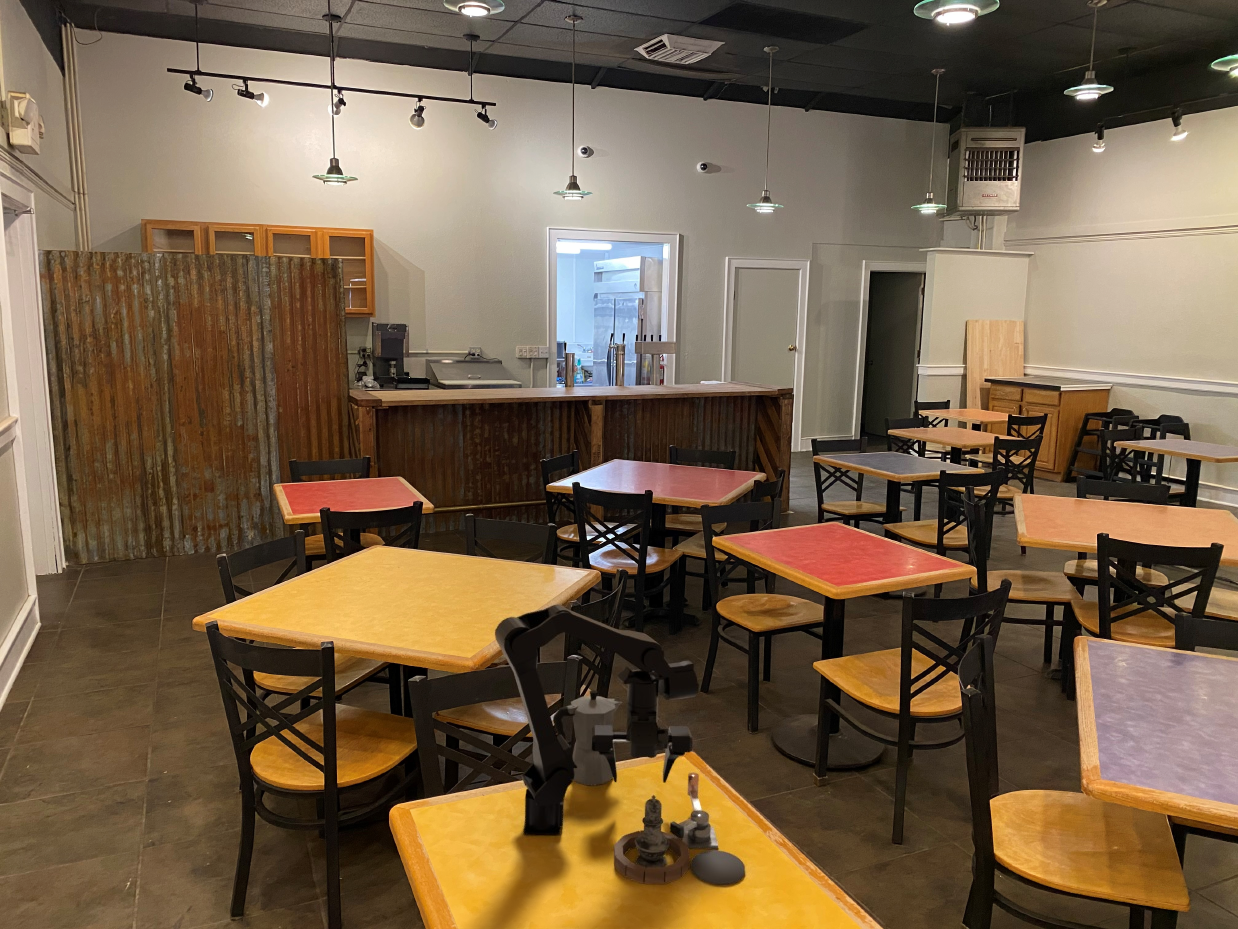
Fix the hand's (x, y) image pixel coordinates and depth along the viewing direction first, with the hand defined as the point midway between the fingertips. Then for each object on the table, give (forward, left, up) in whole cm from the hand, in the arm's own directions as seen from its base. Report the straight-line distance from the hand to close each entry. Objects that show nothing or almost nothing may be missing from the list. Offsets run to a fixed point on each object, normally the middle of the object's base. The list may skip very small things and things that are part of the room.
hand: (639, 781), depth 163 cm
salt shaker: (+1, -17, -6) cm, 18 cm away
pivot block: (+10, -10, -5) cm, 16 cm away
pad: (+12, -19, -5) cm, 24 cm away
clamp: (+8, -7, -3) cm, 11 cm away
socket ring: (+1, -17, -5) cm, 18 cm away
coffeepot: (-10, +13, -6) cm, 17 cm away
